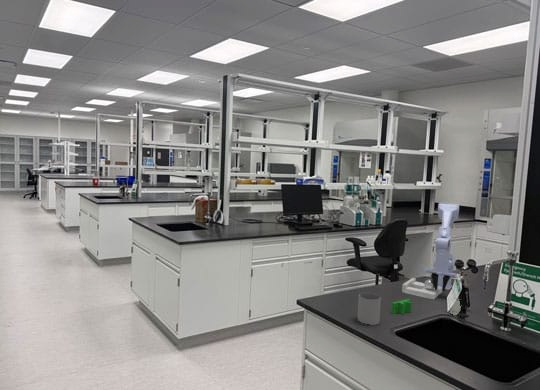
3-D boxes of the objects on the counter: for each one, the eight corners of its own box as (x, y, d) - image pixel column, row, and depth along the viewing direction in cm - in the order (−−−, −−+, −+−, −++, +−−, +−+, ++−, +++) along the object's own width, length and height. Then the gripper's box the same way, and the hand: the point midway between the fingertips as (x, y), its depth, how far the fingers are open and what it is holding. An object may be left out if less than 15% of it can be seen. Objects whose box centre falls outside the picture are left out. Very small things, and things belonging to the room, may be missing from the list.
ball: (426, 287, 189) (425, 278, 189) (437, 288, 186) (436, 278, 186) (423, 290, 185) (422, 280, 185) (434, 291, 182) (433, 281, 182)
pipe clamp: (398, 316, 156) (399, 305, 156) (391, 313, 159) (391, 302, 159) (415, 311, 162) (416, 301, 162) (408, 308, 165) (409, 298, 165)
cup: (375, 326, 144) (377, 301, 143) (354, 321, 148) (356, 296, 147) (381, 319, 151) (383, 295, 150) (361, 315, 155) (362, 291, 154)
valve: (461, 318, 156) (469, 311, 165) (462, 302, 156) (470, 296, 165) (444, 313, 160) (453, 307, 169) (445, 298, 160) (454, 292, 169)
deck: (412, 285, 200) (412, 277, 199) (442, 291, 191) (442, 284, 190) (401, 292, 187) (402, 284, 187) (433, 299, 178) (434, 291, 178)
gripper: (423, 261, 183) (421, 288, 184) (456, 266, 174) (454, 295, 175) (427, 258, 189) (425, 285, 189) (459, 264, 180) (457, 292, 181)
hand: (439, 290), depth 182 cm, fingers open, 3 cm apart
